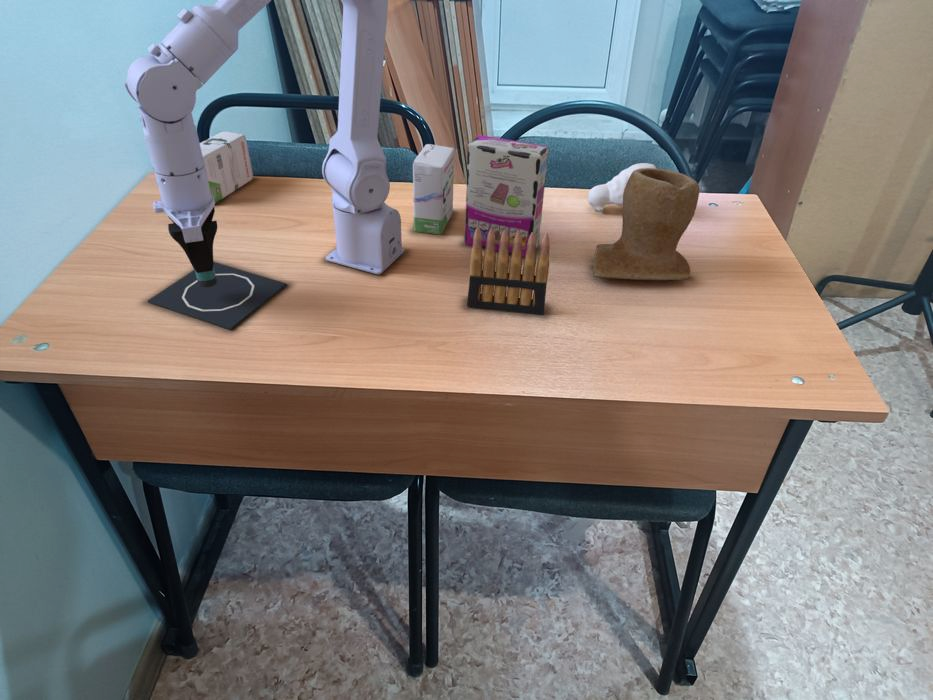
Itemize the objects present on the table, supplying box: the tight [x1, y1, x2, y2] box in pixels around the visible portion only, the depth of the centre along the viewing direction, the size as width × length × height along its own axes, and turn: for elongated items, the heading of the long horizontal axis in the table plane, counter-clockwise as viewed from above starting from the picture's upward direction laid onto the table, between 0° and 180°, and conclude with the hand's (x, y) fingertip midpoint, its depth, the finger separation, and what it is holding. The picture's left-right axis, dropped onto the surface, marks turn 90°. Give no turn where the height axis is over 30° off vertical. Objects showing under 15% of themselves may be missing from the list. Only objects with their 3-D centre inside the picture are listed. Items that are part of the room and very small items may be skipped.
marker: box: [195, 266, 217, 287], centre depth 85 cm, size 2×2×9 cm
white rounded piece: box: [587, 162, 657, 214], centre depth 112 cm, size 6×8×12 cm
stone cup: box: [592, 168, 701, 281], centre depth 95 cm, size 15×12×15 cm
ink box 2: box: [412, 143, 455, 235], centre depth 105 cm, size 8×5×12 cm, turn 168°
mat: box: [147, 261, 288, 331], centre depth 90 cm, size 14×12×1 cm
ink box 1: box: [199, 131, 254, 204], centre depth 113 cm, size 9×5×12 cm
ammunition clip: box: [466, 227, 551, 316], centre depth 86 cm, size 11×2×12 cm, turn 83°
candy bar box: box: [464, 134, 550, 258], centre depth 99 cm, size 11×5×16 cm, turn 68°
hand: (203, 264), depth 86 cm, fingers closed on marker, 2 cm apart
